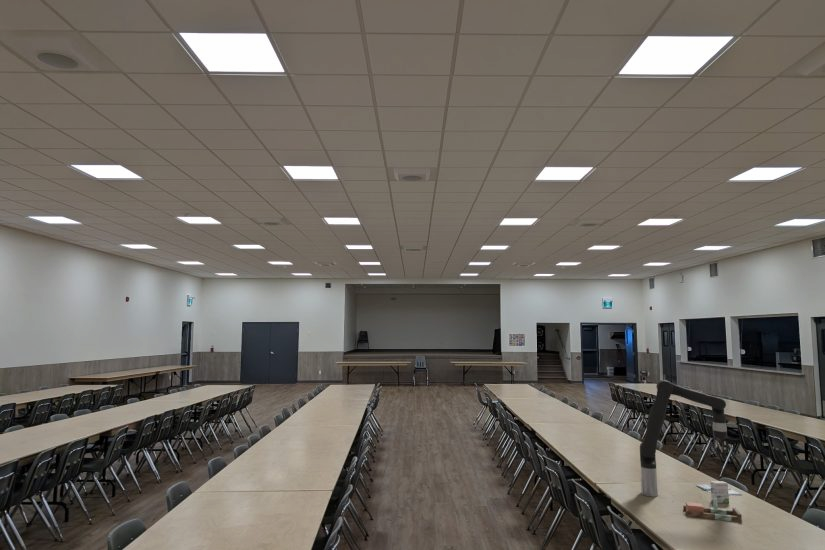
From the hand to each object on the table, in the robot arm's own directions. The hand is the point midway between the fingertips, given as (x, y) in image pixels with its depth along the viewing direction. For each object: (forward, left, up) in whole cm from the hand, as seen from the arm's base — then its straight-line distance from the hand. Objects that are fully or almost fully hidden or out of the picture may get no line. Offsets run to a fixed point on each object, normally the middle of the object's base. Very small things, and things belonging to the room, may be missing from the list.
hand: (721, 456), depth 309 cm
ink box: (-2, +2, -28) cm, 28 cm away
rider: (-22, -28, -28) cm, 45 cm away
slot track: (-13, -28, -28) cm, 41 cm away
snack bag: (+3, +27, -29) cm, 40 cm away
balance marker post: (-9, -18, -28) cm, 34 cm away
